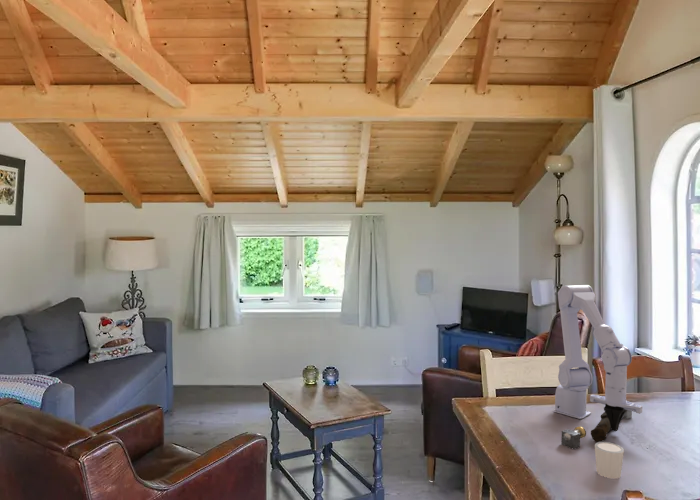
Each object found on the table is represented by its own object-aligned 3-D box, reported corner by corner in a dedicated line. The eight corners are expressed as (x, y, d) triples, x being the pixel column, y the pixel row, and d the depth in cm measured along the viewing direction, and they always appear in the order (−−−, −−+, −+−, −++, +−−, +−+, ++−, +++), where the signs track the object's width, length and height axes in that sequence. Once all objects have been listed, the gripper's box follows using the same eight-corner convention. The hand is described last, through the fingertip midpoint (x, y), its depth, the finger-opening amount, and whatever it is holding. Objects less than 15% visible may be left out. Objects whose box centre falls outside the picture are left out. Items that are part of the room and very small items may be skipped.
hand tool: (607, 441, 150) (601, 425, 151) (593, 443, 152) (587, 427, 153) (622, 422, 164) (616, 408, 165) (609, 424, 167) (603, 410, 168)
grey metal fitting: (574, 439, 154) (575, 424, 154) (587, 444, 151) (587, 428, 151) (560, 444, 151) (560, 429, 150) (572, 449, 147) (572, 433, 147)
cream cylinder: (588, 467, 136) (589, 441, 136) (613, 466, 137) (614, 441, 136) (603, 480, 129) (604, 453, 129) (629, 479, 130) (630, 452, 130)
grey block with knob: (620, 421, 169) (621, 407, 169) (609, 417, 172) (609, 404, 172) (632, 417, 172) (632, 403, 172) (620, 413, 176) (621, 400, 176)
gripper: (586, 383, 160) (585, 426, 161) (636, 394, 149) (635, 440, 150) (595, 379, 165) (594, 421, 165) (645, 389, 154) (644, 434, 155)
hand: (614, 430), depth 158 cm, fingers closed
